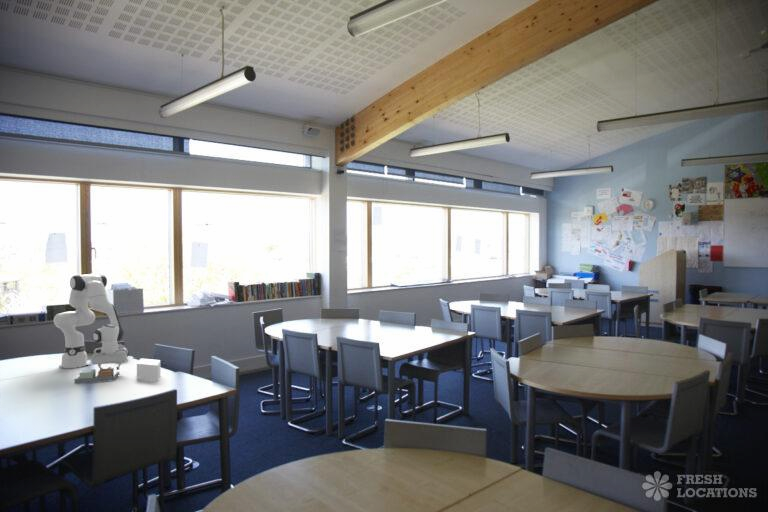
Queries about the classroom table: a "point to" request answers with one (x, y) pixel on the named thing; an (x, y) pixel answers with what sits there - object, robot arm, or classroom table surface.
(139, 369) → the white rectangular box
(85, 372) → the sage block
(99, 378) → the lane rack
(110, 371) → the walnut block
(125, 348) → the bluetooth speaker
